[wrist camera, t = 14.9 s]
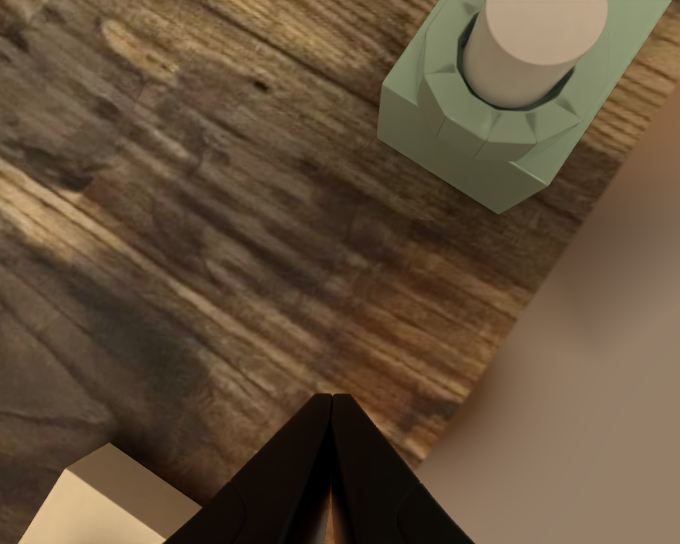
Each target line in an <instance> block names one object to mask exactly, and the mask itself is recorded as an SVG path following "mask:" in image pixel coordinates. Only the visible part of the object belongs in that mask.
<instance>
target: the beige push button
mask: <svg viewBox="0 0 680 544" xmlns="http://www.w3.org/2000/svg"><path fill="white" fill-rule="evenodd" d="M607 13H608V1H607V0H484V3H483V5H482V7H481V10H480V12H479V14H478V17H477V19H476V21H475V24H474V26H473V29H472V31H471V33H470V36H469V38H468V40H467V43H466V45H465V48H464V52H463V58H462V66H463V72H464V75H465V78H466V80H467V83H468V84H469V86H470V87H471V89H472V90H473V91H474V92H475V93H476V94H477V95H478V96H479V97H480V98H481V99H483V100H484V101H486V102H488V103H490V104H492V105H495V106H499V107H503V108H519V107H524V106H528V105H531V104H533V103H535V102H537V101H539V100H541V99H542V98H543V97H545V96H546V95H547V94H548V93H549V92H550V91H551V90H552V89H553V88H554V87H555V86H556V85H557V84H558V82H559V81H560V80H561V79H562V78H563V77H564V76H565V75H566V74H567V73H568V72H569V71H570V70H571V69H572V67H573V66H574V65H575V64H576V63H577V62H578V61H579V60H580V59H581V58H582V57H583V56H584V55H585V54H586V52H587V51H588V50H589V49H590V48H591V47H592V46H593V45H594V44H595V42H596V41H597V40H598V38H599V37H600V35H601V33H602V31H603V29H604V26H605V23H606V19H607Z"/></svg>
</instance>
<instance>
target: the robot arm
mask: <svg viewBox="0 0 680 544" xmlns="http://www.w3.org/2000/svg"><path fill="white" fill-rule="evenodd" d="M330 498H331V502H332V516H333V527H334V538H335V544H475V543H474V542H473V541H472V540H471V539H470V538H469V537H468V536H467V535H466V534H465V532H464V531H463V530H462V529H461V528H460V527H459V526H458V525H457V524H456V523H455V522H454V521H453V520H452V519H451V518H450V517H449V515H448V514H447V513H446V512H445V511H444V509H443V508H442V507H441V506H440V505H439V504H438V502H437V501H436V500H435V499H434V498H433V497H432V495H431V494H430V493H429V492H428V490H427V489H426V488H425V486H424V485H423V484H422V483H420V480H419V479H418V478H417V477H416V475H415V474H414V473H413V472H412V470H411V469H410V468H409V467H408V465H407V464H406V463H405V462H404V460H403V459H402V458H401V457H400V455H399V454H398V453H397V452H396V450H395V449H394V448H393V447H392V445H391V444H390V443H389V442H388V440H387V439H386V438H385V437H384V435H383V434H382V433H381V432H380V430H379V429H378V428H377V427H376V425H375V424H374V423H373V422H372V420H371V419H370V418H369V417H368V415H367V414H366V413H365V412H364V410H363V409H362V408H361V407H360V405H359V404H358V403H357V402H356V400H355V399H354V398H353V397H352V395H351V394H334V395H333V397H332V395H331V394H328V393H317V394H314V395H313V396H312V397H311V398H310V399H309V400H308V401H307V402H306V403H305V404H304V405H303V406H302V407H301V408H300V409H299V410H298V411H297V412H296V413H295V414H294V415H293V416H292V418H291V419H290V420H289V421H288V422H287V423H286V424H285V425H284V426H283V427H282V428H281V429H280V430H279V431H278V432H277V433H276V434H275V435H274V436H273V437H272V438H271V439H270V440H269V441H268V442H267V443H266V444H265V445H264V446H263V447H262V448H261V449H260V450H259V451H258V452H257V453H256V454H255V455H254V456H253V457H252V458H251V459H250V460H249V461H248V462H247V463H246V464H245V465H244V466H243V467H242V468H241V470H240V471H239V472H238V473H237V474H236V475H235V476H234V477H233V478H232V479H231V482H228V483H227V484H226V485H225V486H224V487H223V488H222V489H221V490H220V491H219V492H218V493H217V494H216V495H215V496H214V497H213V498H212V499H211V500H210V501H209V502H208V503H206V504H205V505H204V506H203V507H202V508H201V509H200V510H199V511H198V512H197V513H196V514H195V515H194V516H193V517H192V518H191V519H190V520H188V521H187V522H186V523H185V524H184V525H183V526H182V527H180V528H179V529H178V530H177V531H176V532H175V533H174V534H172V535H171V536H170V537H169V538H168V539H167V540H166V541H164V542H163V543H162V544H324V541H325V534H326V528H327V521H328V514H329V507H330Z"/></svg>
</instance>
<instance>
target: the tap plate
mask: <svg viewBox="0 0 680 544" xmlns="http://www.w3.org/2000/svg"><path fill="white" fill-rule="evenodd" d="M201 508H202V507H201V506H200V505H198V504H197V503H196V502H194V501H193V500H191V499H190V498H188V497H187V496H186V495H184V494H183V493H181V492H180V491H178V490H177V489H175V488H174V487H173V486H171V485H170V484H168V483H167V482H165V481H164V480H163V479H161V478H160V477H158V476H157V475H155V474H154V473H152V472H151V471H150V470H148V469H147V468H145V467H144V466H142V465H141V464H140V463H138V462H137V461H135V460H134V459H132V458H131V457H129V456H128V455H127V454H125V453H124V452H122V451H121V450H119V449H118V448H117V447H115V446H114V445H112V444H111V443H108V444H106V445H104V446H103V447H101V448H99V449H97V450H96V451H94V452H92V453H91V454H89V455H87V456H85V457H84V458H82V459H80V460H79V461H77V462H75V463H74V464H72V465H70V466H68V467H67V468H65V470H64V471H63V473H62V475H61V476H60V478H59V479H58V481H57V483H56V484H55V486H54V487H53V489H52V491H51V492H50V494H49V495H48V497H47V499H46V500H45V502H44V503H43V505H42V507H41V508H40V510H39V511H38V513H37V515H36V516H35V518H34V519H33V521H32V523H31V524H30V526H29V527H28V529H27V531H26V532H25V534H24V535H23V537H22V539H21V540H20V542H19V543H18V544H162V543H163V542H164V541H166V540H167V539H168V538H169V537H170V536H171V535H172V534H174V533H175V532H176V531H177V530H178V529H179V528H180V527H182V526H183V525H184V524H185V523H186V522H187V521H188V520H190V519H191V518H192V517H193V516H194V515H195V514H196V513H197V512H198V511H199V510H200V509H201Z"/></svg>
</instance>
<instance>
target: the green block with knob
mask: <svg viewBox="0 0 680 544" xmlns="http://www.w3.org/2000/svg"><path fill="white" fill-rule="evenodd" d="M607 1H608V13H607V19H606V23H605V26H604V29H603V31H602V33H601V35H600V37H599V38H598V40H597V41H596V42H595V44H594V45H593V46H592V47H591V48H590V49H589V50H588V51H587V52H586V54H585V55H584V56H583V57H582V58H581V59H580V60H579V61H578V62H577V63H576V64H575V65H574V66H573V67H572V69H571V70H570V71H569V72H568V73H567V74H566V75H565V76H564V77H563V78H562V79H561V80H560V81H559V82H558V84H557V85H556V86H555V87H554V88H553V89H552V90H551V91H550V92H549V93H548V94H547V95H546V96H545V97H543V98H542V99H541V100H539V101H537V102H535V103H533V104H531V105H528V106H524V107H519V108H503V107H499V106H495V105H492V104H490V103H488V102H486V101H484V100H483V99H481V98H480V97H479V96H478V95H477V94H476V93H475V92H474V91H473V90H472V89H471V87H470V86H469V84H468V83H467V80H466V78H465V75H464V72H463V66H462V58H463V52H464V48H465V45H466V43H467V40H468V38H469V36H470V33H471V31H472V29H473V26H474V24H475V21H476V19H477V17H478V14H479V12H480V10H481V7H482V5H483V3H484V0H439V1H438V2H437V4H436V5H435V7H434V8H433V10H432V11H431V12H430V14H429V15H428V17H427V18H426V20H425V21H424V23H423V24H422V26H421V27H420V29H419V30H418V31H417V33H416V34H415V36H414V37H413V39H412V40H411V42H410V43H409V45H408V46H407V48H406V49H405V50H404V52H403V53H402V55H401V56H400V58H399V59H398V61H397V62H396V64H395V65H394V67H393V68H392V69H391V71H390V72H389V74H388V75H387V77H386V78H385V80H384V81H383V83H382V88H381V98H380V107H379V117H378V126H377V136H376V138H377V139H379V140H381V141H382V142H384V143H385V144H387V145H389V146H390V147H392V148H393V149H395V150H396V151H398V152H400V153H401V154H403V155H404V156H406V157H408V158H409V159H411V160H412V161H414V162H415V163H417V164H419V165H420V166H422V167H423V168H425V169H427V170H428V171H430V172H431V173H433V174H434V175H436V176H438V177H439V178H441V179H442V180H444V181H446V182H447V183H449V184H450V185H452V186H454V187H455V188H457V189H458V190H460V191H461V192H463V193H465V194H466V195H468V196H469V197H471V198H473V199H474V200H476V201H477V202H479V203H480V204H482V205H484V206H485V207H487V208H488V209H490V210H492V211H493V212H495V213H496V214H498V215H499V214H501V213H503V212H504V211H506V210H508V209H510V208H511V207H513V206H515V205H516V204H518V203H520V202H522V201H523V200H525V199H527V198H528V197H530V196H532V195H534V194H535V193H537V192H539V191H540V190H542V189H544V188H546V187H547V186H549V185H550V183H551V182H552V180H553V179H554V177H555V176H556V174H557V173H558V171H559V170H560V168H561V167H562V165H563V164H564V162H565V161H566V159H567V158H568V156H569V154H570V153H571V151H572V150H573V148H574V147H575V145H576V144H577V142H578V141H579V139H580V138H581V136H582V135H583V133H584V132H585V130H586V129H587V127H588V126H589V124H590V123H591V121H592V120H593V118H594V117H595V115H596V114H597V112H598V111H599V109H600V108H601V106H602V105H603V103H604V102H605V100H606V99H607V97H608V96H609V94H610V93H611V91H612V90H613V88H614V87H615V85H616V84H617V82H618V81H619V79H620V78H621V76H622V75H623V73H624V72H625V70H626V69H627V67H628V66H629V64H630V63H631V61H632V60H633V58H634V57H635V55H636V54H637V52H638V51H639V49H640V48H641V46H642V45H643V43H644V42H645V40H646V39H647V37H648V36H649V34H650V33H651V31H652V30H653V28H654V27H655V25H656V24H657V22H658V21H659V19H660V18H661V16H662V15H663V13H664V12H665V10H666V9H667V7H668V6H669V4H670V3H671V1H672V0H607Z"/></svg>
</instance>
